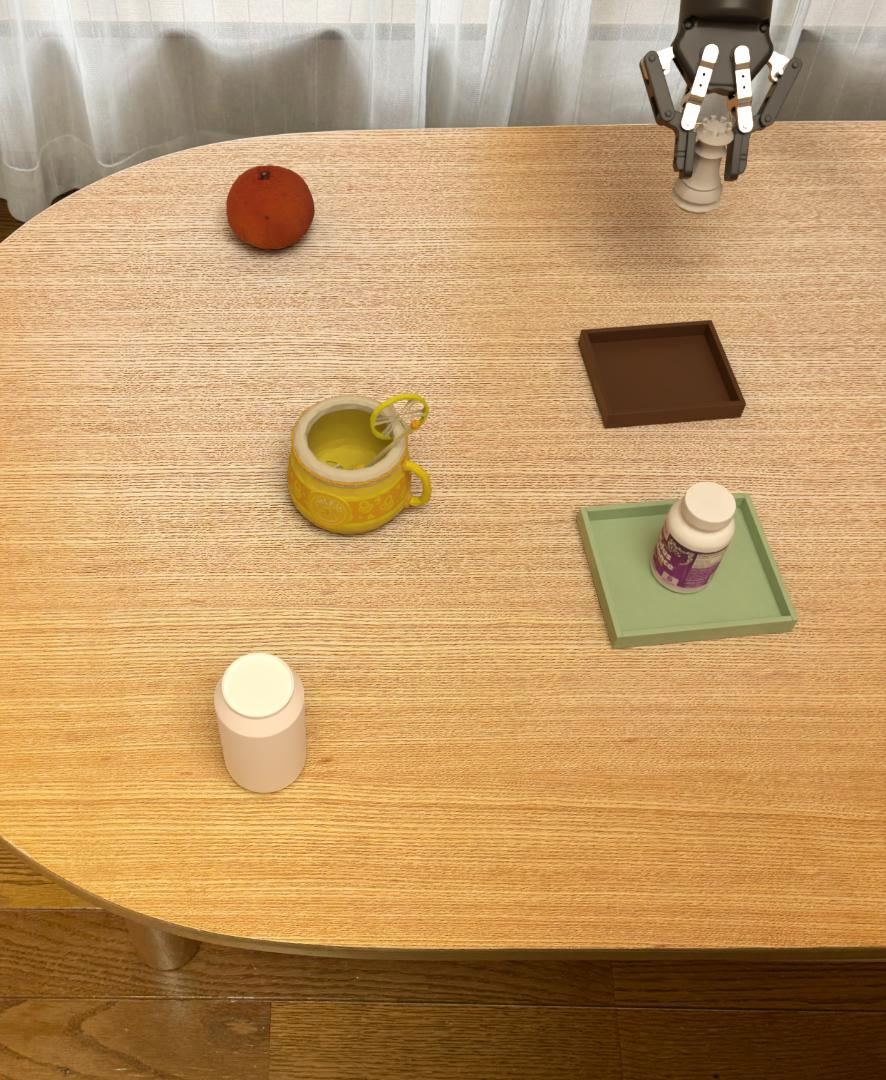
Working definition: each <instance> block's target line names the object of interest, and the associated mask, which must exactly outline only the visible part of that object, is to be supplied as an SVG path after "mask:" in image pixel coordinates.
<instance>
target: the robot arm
mask: <svg viewBox="0 0 886 1080" xmlns="http://www.w3.org/2000/svg"><path fill="white" fill-rule="evenodd" d="M773 2H774V0H680V3H679V13H678V24H677V31H676V35H675V37H674V38H673V40H672V42H671V44H670V46H669V47H666V48H664V49H661V50H658V51H655V50H649V51H648V52H647V53H645V54H644V56H643V57H642V58H641V59H640V61H639V63H638V67H639V70H640V74H641V77H642V81H643V83H644V87H645V90H646V93H647V97H648V101H649V104H650V107H651V110H652V114H653V118H654V121H655V124H656V125H657V126H659V127H665V128H667V129H670V130H671V131H672V132H673V134H674V145H673V156H672V157H673V158H672V169H673V172H674V173H678V177H679V179H689V178H691V177H692V173H693V164H694V154H695V144H696V142H697V136H696V134H697V132H695V126H696V124H697V121H698V117H699V114H700V111H701V108H702V105H703V103H704V101H705V98H706V95H707V96H708V95H711V94H717V95H720V96H723V97H726V99H725V100H726V108H727V111H728V113H729V114H728V115H729V122H730V121H731V123H732V132H733V134H734V138H733V140H732V141H731V142H730V143H729V144H727V145H726V149H727V150H726V154H725V161H724V163H725V164H724V171H723V181H724V182H730V183H733V182H735V181H737V180H738V179H739V177H740V175H742V174H744V173H745V170H746V169H747V166H748V157H749V147H750V137H751V135H752V134H753V133H755V132H761V131H763V130H765V129H766V128H768V127H770V126H772V125H773V124H774V123H775V121H776V119H777V117H778V115H779V113H780V112H781V109H782V108H783V105H784V103H785V102H786V100H787V98H788V95H789V93H790V92H791V90H792V88H793V86H794V84H795V82H796V80H797V78H798V76H799V74H800V72H801V71H802V68H803V61H802V59H801V58H799V57H795V56H794V57H792V58H789V57H788V56H785V55H783V54H780V53H779V52H777V51H775V50H774V48H775V47H774V44H773V41H772V38H771V34H770V30H771V29H770V28H771V22H772V11H773ZM671 61H672V62H673V63H674V65H675V67H676V69H677V70H678V72H679V74H680V76H681V78H682V79H683V81H684V83H685V89H684V91H683V95H682V98H681V102H680V109H679V111H678V110H676V109H675V106H674V103H673V99H672V96H671V92H670V88H669V85H668V82H667V78H666V76H667V75H668V74H669V72H670V70H671V65H670V64H671ZM765 66H767V67H768V70H769V71H768V74H767V80H768V81H769V82H770V83H771V84H770V86H769V89H768V90H767V92H766V94H765V97H764V99H763V100H762V102H761V105H760V106H759V109H758V111H757V112H756V114H755V115H753V107H752V103H753V86H752V82H753V80H755V78H756V77H757V76H758V75H759V73H760V72H761V71H762V69H764V67H765Z"/></svg>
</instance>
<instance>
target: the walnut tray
mask: <svg viewBox="0 0 886 1080" xmlns="http://www.w3.org/2000/svg"><path fill="white" fill-rule="evenodd" d="M577 345H578V348H579V351H580V354H581V357H582V360H583V364H584V367H585V370H586V374H587V377H588V379H589V382H590V383H589V384H590V386H591V389H592V392H593V395H594V399H595V402H596V405H597V408H598V411H599V414H600V417H601V418H600V419H601V420H602V424H603V427H604V429H613V428H614V429H615V428H617V429H618V428H628V427H638V426H639V427H640V426H651V425H664V424H665V425H666V424H677V423H687V422H700V421H701V422H702V421H713V420H714V421H715V420H724V419H725V420H726V419H735V418H736V419H737V418H741V417H742V415H743V412H744V410H745V408H746V406H747V401H746V400H745V397H744V395H743V392H742V389H741V388H740V384H739V383H738V380H737V378H736V375H735V373H734V370H733V368H732V366H731V363H730V361H729V359H728V356H727V353H726V351H725V349H724V346H723V344H722V342H721V339H720V337H719V333H718V332H717V329H716V326H715V324H714V322H713V320H712V319H707V320H705V319H704V320H693V321H692V320H691V321H677V322H665V323H653V324H651V323H650V324H639V325H638V324H637V325H625V326H613V327H612V326H611V327H599V328H587V329H585V328H584V329H581V330H580V333H579V339H578V341H577Z"/></svg>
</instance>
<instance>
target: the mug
mask: <svg viewBox="0 0 886 1080" xmlns="http://www.w3.org/2000/svg"><path fill="white" fill-rule="evenodd" d="M407 400H408V401H407ZM400 401H407V402H406V403H405V405H404V406H403V408H402V409H401V411H400V412H397V410H396V408H395V405H394V403H397V402H400ZM418 402H419V403H421V404H422V405H423V408H421V409H417V410H413V411H410V409H412V408H413V406H414V405H415V404H416V403H418ZM404 410H405V411H404ZM403 411H404V412H403ZM409 411H410V412H409ZM402 412H403V413H402ZM429 412H430V411H429V405H428V403H427V401H426V398H424V397H422V396H421V395H419V394H417V393H412V392H411V393H400V394H396V395H393V396H391V397H389V398H388V399H385V400H384V401H382V402H381V401H379V400H377V399H374V398H372V397H369V396H362V395H354V394H343V395H341V394H340V395H333V396H331V397H327V398H325V399H322V400H320V401H317V402H316V403H314V404H312V405H310V406H309V407H307V408H306V409H305V410H304V411H302V412H301V415H299V417H298V418H297V420H296V421H295V424H293V427H292V431H291V435H290V450H289V455H288V462H287V470H286V479H287V481H286V483H287V489H288V493H289V498H290V499H291V502H292V503H293V505H294V507H295V509H296V510H297V511H298V512H299V513H300V514H301V515H302V516H303V517H304V519H306V520H307V521H308V522H310V523H312V524H313V525H314V526H316V527H317V528H320V529H323V530H325V531H327V532H329V533H335V534H343V535H354V534H364V533H368V532H371V531H374V530H378V529H379V528H380V527H382V526H384V525H385V524H387V523H389V522H390V521H392V520H394V519H395V517H397V515H399V514H400V513H401V512H402V510H403V509H409V508H410V506H412V507H420V506H425V505H427V504H428V503H429V502H430V500H431V496H432V493H433V487H432V483H431V482H432V481H431V478H430V477H431V476H430V475H429V473H428V472H427V470H426V469H424V468H423V467H422V466H420V465H419V464H418V463H417V462H415V461H412V460H411V459H410V451H409V440H410V439H409V436H410V435H412V434H413V433H415V432H416V431H417V430H419V429H420V428H421V427H422V426H423V425H424V424H425V422H426V421H427V419H428V417H429V414H430V413H429ZM413 414H414V415H413ZM405 415H411V416H406V417H404V416H405ZM419 417H420V418H419ZM411 418H419V419H413V420H411V422H410V425H409V424H408V423H407V422H406V421H405V419H411ZM412 473H413V474H414V475H415V476H416V478H418V479H419V480H420V482H421V485H422V492H421V495H420V496H413V492H412V491H411V490H412Z"/></svg>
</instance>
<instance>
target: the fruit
mask: <svg viewBox="0 0 886 1080" xmlns="http://www.w3.org/2000/svg"><path fill="white" fill-rule="evenodd" d="M225 207H226V208H225V210H226V211H225V213H226V220H227V224H228V227H229V228H230V229H231V231H232V233H234V234H235V236H237V237H238V238H239V239H240V240H241V241H242V242H244V243H246V244H249V245H250V246H253V247H256V248H258V249H263V250H273V249H274V250H277V249H284V248H286V247H290V246H291V245H294V244H295V243H296V242H298V241H299V240H301V239H302V238H303V237H304V236H305V235H306V234H307V233H308V231H309V230H310V228H311V225H312V223H313V221H314V218H315V212H316V210H315V202H314V198H313V195H312V193H311V190H310V187H309V185H308V183H307V182H306V181H305V179H304V178H303V177H302V176H301V175H300V174H298V173H297V172H295V171H293V170H291V169H290V168H286V167H283V166H280V165H273V164H268V165H267V164H266V165H256V166H254V167H251V168H248V169H246V170H245V171H244V172H242V173H241V174H240V175H238V177H237V178H236V179H235V180H234V181H233V183H232V185H231V187H230V188H229V191H228V193H227V196H226V203H225Z"/></svg>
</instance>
